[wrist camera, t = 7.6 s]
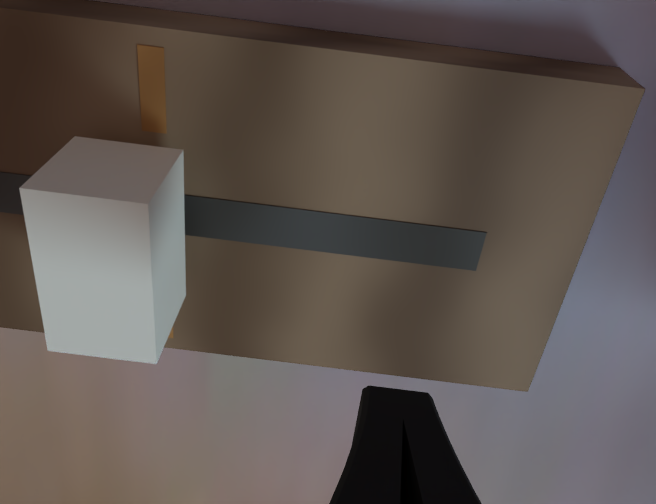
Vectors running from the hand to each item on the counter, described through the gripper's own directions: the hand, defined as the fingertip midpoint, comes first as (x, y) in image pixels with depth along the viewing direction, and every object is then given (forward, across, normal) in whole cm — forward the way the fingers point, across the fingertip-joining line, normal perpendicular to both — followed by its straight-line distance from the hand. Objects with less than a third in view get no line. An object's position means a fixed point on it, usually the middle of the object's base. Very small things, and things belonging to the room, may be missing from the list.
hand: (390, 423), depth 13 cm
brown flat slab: (+9, +4, 0) cm, 10 cm away
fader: (+7, +7, 0) cm, 10 cm away
